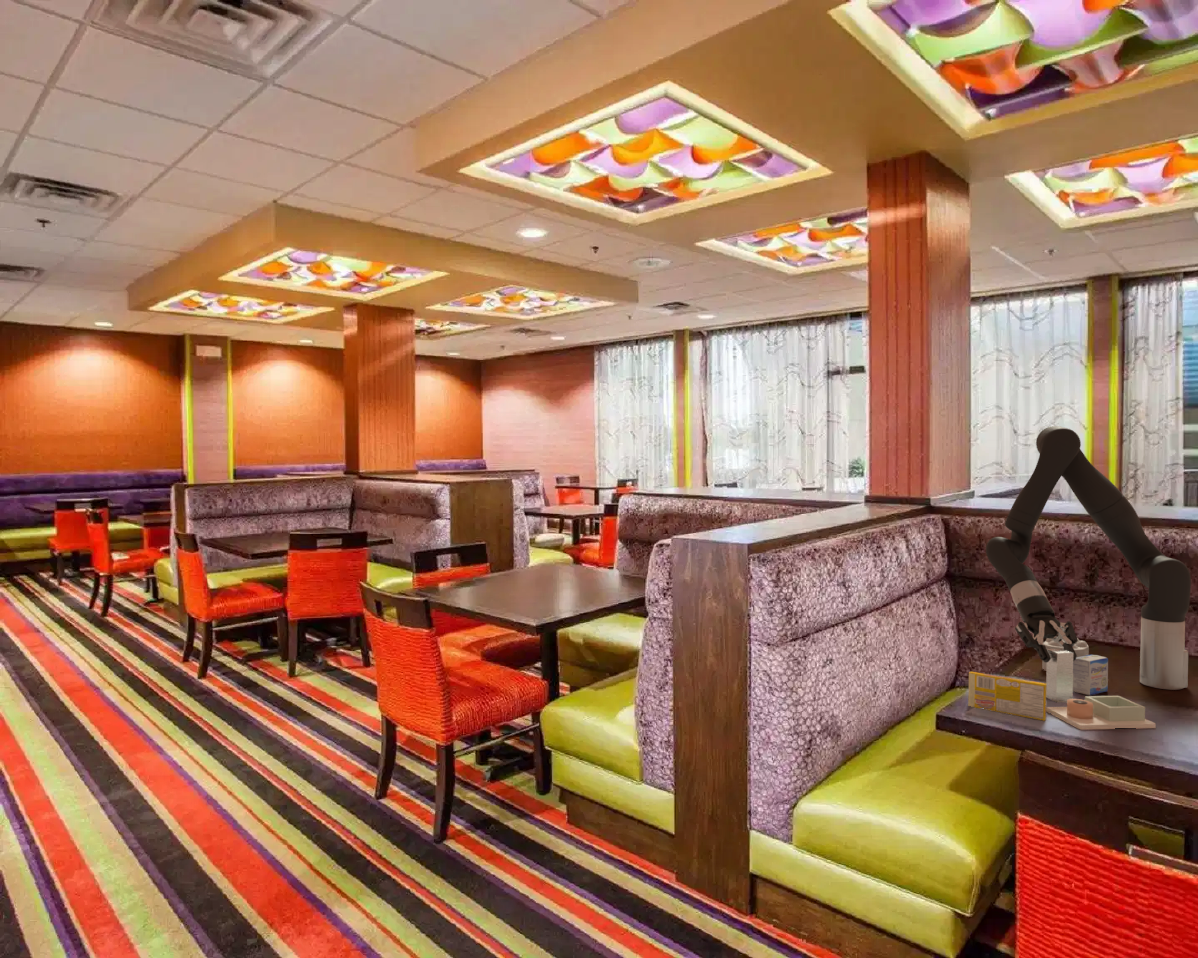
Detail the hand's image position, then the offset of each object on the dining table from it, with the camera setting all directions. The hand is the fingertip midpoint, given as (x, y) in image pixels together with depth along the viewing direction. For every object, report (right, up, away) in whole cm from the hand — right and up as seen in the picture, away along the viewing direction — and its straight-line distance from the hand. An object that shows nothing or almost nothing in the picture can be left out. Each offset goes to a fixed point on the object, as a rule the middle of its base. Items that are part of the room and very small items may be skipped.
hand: (1060, 660), depth 189 cm
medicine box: (+12, -10, +7) cm, 17 cm away
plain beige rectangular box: (0, -10, +1) cm, 10 cm away
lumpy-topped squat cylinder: (+18, -9, +28) cm, 34 cm away
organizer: (+1, -10, -13) cm, 17 cm away
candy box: (-17, -10, -8) cm, 22 cm away
